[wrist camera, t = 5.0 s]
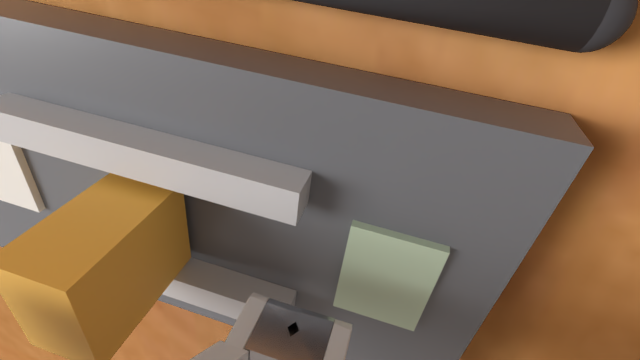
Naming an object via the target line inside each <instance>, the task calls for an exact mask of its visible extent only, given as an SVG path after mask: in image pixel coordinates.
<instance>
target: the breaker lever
mask: <svg viewBox="0 0 640 360" xmlns="http://www.w3.org/2000/svg"><path fill="white" fill-rule="evenodd" d="M190 258H191V251H190V243H189V234H188V226H187V218H186V210H185V201H184V194H182V193H178V192H175V191H171V190H168V189H164V188H161V187H157V186H154V185H151V184H147V183H144V182H140V181H137V180H133V179H130V178H126V177H123V176H119V175H116V174H112V173H109V174H108V175H106V176H105V177H103V178H102V179H100V180H99V181H97V182H96V183H95V184H93V185H92V186H90V187H89V188H87V189H86V190H85V191H83V192H82V193H80V194H79V195H77V196H76V197H75V198H73V199H72V200H70V201H69V202H67V203H66V204H65V205H63V206H62V207H60V208H59V209H57V210H56V211H54V212H53V213H52V214H50V215H49V216H47V217H46V218H44V219H43V220H42V221H40V222H39V223H37V224H36V225H34V226H33V227H32V228H30V229H29V230H27V231H26V232H24V233H23V234H21V235H20V236H19V237H17V238H16V239H14V240H13V241H11V242H10V243H9V244H7V245H6V246H4V247H3V248H1V249H0V294H1V295H2V297H3V299H4V300H5V302H6V304H7V305H8V307H9V309H10V310H11V312H12V314H13V315H14V317H15V319H16V320H17V322H18V324H19V325H20V327H21V329H22V330H23V332H24V333H25V335H26V337H27V338H28V340H29V342H30V343H31V345H33V346H36V347H38V348H41V349H44V350H46V351H49V352H51V353H54V354H57V355H59V356H62V357H64V358H67V359H69V360H110V359H111V358H112V357H113V355H114V354H115V353H116V352H117V350H118V349H119V348H120V347H121V345H122V344H123V343H124V341H125V340H126V339H127V338H128V336H129V335H130V334H131V333H132V331H133V330H134V329H135V328H136V326H137V325H138V324H139V323H140V321H141V320H142V319H143V318H144V316H145V315H146V314H147V313H148V311H149V310H150V309H151V307H152V306H153V305H154V304H155V302H156V301H157V300H158V299H159V297H160V296H161V295H162V294H163V292H164V291H165V290H166V289H167V287H168V286H169V285H170V284H171V282H172V281H173V280H174V279H175V277H176V276H177V275H178V273H179V272H180V271H181V270H182V268H183V267H184V266H185V265H186V263H187V262H188V261H189V260H190Z"/></svg>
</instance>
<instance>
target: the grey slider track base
mask: <svg viewBox="0 0 640 360" xmlns="http://www.w3.org/2000/svg"><path fill="white" fill-rule="evenodd" d="M593 149H594V146H593V145H592V144H591V142H590V141H589V140H588V138H587V137H586V135H585V134H584V133H583V131H582V130H581V129H580V127H579V126H578V125H577V123H576V122H575V120H574V119H573V118H572V116H571V115H570V114H567V113H562V112H557V111H553V110H548V109H543V108H538V107H534V106H529V105H524V104H519V103H515V102H510V101H505V100H500V99H495V98H491V97H486V96H481V95H476V94H472V93H467V92H462V91H457V90H452V89H448V88H443V87H438V86H433V85H429V84H424V83H419V82H414V81H409V80H405V79H400V78H395V77H390V76H386V75H381V74H376V73H371V72H366V71H362V70H357V69H352V68H347V67H343V66H338V65H333V64H328V63H323V62H319V61H314V60H309V59H304V58H300V57H295V56H290V55H285V54H281V53H276V52H271V51H266V50H261V49H257V48H252V47H247V46H242V45H238V44H233V43H228V42H223V41H218V40H214V39H209V38H204V37H199V36H195V35H190V34H185V33H180V32H175V31H171V30H166V29H161V28H156V27H152V26H147V25H142V24H137V23H132V22H128V21H123V20H118V19H113V18H109V17H104V16H99V15H94V14H89V13H85V12H80V11H75V10H70V9H66V8H61V7H56V6H51V5H46V4H42V3H37V2H32V1H27V0H0V246H1V247H4V246H6V245H7V244H9V243H10V242H11V241H13V240H14V239H16V238H17V237H19V236H20V235H21V234H23V233H24V232H26V231H27V230H29V229H30V228H32V227H33V226H34V225H36V224H37V223H39V222H40V221H42V220H43V219H44V218H46V217H47V216H49V215H50V214H52V213H53V212H54V211H56V210H57V209H59V208H60V207H62V206H63V205H65V204H66V203H67V202H69V201H70V200H72V199H73V198H75V197H76V196H77V195H79V194H80V193H82V192H83V191H85V190H86V189H87V188H89V187H90V186H92V185H93V184H95V183H96V182H97V181H99V180H100V179H102V178H103V177H105V176H106V175H108V174H109V173H112V174H116V175H119V176H123V177H126V178H130V179H133V180H137V181H140V182H144V183H147V184H151V185H154V186H157V187H161V188H164V189H168V190H171V191H175V192H178V193H182V194H184V201H185V210H186V218H187V226H188V234H189V243H190V251H191V258H190V260H189V261H188V262H187V263H186V265H185V266H184V267H183V268H182V270H181V271H180V272H179V273H178V275H177V276H176V277H175V279H174V280H173V281H172V282H171V284H170V285H169V286H168V287H167V289H166V290H165V291H164V292H163V294H162V295H161V296H160V297H159V299H158V300H159V301H162V302H165V303H168V304H171V305H174V306H177V307H180V308H182V309H185V310H188V311H191V312H194V313H197V314H200V315H203V316H206V317H209V318H212V319H215V320H218V321H220V322H223V323H226V324H229V325H232V326H234V324H235V322H236V320H237V319H238V317H239V315H240V313H241V311H242V309H243V308H244V306H245V304H246V302H247V300H248V298H249V297H250V296H251V295H252V293H253V292H254V293H257V294H260V295H263V296H266V297H270V298H272V299H275V300H278V301H281V302H284V303H287V304H290V305H293V306H296V307H299V308H303V309H306V310H309V311H313V312H316V313H319V314H323V315H326V316H329V317H332V318H335V319H337V320H340V321H343V322H347V323H350V324H353V325H352V332H351V336H350V341H349V345H348V349H347V353H346V358H345V360H459V359H460V357H461V356H462V354H463V353H464V351H465V350H466V348H467V346H468V345H469V343H470V342H471V340H472V339H473V337H474V335H475V334H476V332H477V331H478V329H479V328H480V326H481V324H482V323H483V321H484V320H485V318H486V317H487V315H488V313H489V312H490V310H491V309H492V307H493V306H494V304H495V302H496V301H497V299H498V298H499V296H500V295H501V293H502V292H503V290H504V288H505V287H506V285H507V284H508V282H509V281H510V279H511V277H512V276H513V274H514V273H515V271H516V270H517V268H518V266H519V265H520V263H521V262H522V260H523V259H524V257H525V255H526V254H527V252H528V251H529V249H530V248H531V246H532V244H533V243H534V241H535V240H536V238H537V237H538V235H539V233H540V232H541V230H542V229H543V227H544V226H545V224H546V222H547V221H548V219H549V218H550V216H551V215H552V213H553V211H554V210H555V208H556V207H557V205H558V204H559V202H560V201H561V199H562V197H563V196H564V194H565V193H566V191H567V190H568V188H569V186H570V185H571V183H572V182H573V180H574V179H575V177H576V175H577V174H578V172H579V171H580V169H581V168H582V166H583V164H584V163H585V161H586V160H587V158H588V157H589V155H590V153H591V152H592V150H593ZM334 322H335V321H334Z"/></svg>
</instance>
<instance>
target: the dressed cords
mask: <svg viewBox="0 0 640 360" xmlns="http://www.w3.org/2000/svg"><path fill="white" fill-rule="evenodd" d="M294 1H299V2H305V3H310V4H315V5H321V6H326V7H332V8H337V9H343V10H348V11H353V12H359V13H364V14H370V15H375V16H381V17H386V18H392V19H397V20H402V21H408V22H413V23H419V24H424V25H430V26H435V27H440V28H446V29H451V30H457V31H462V32H468V33H473V34H479V35H484V36H489V37H495V38H500V39H506V40H511V41H517V42H522V43H527V44H533V45H538V46H544V47H549V48H555V49H560V50H566V51H571V52H580V53H582V52H591V51H595V50H599V49H601V48H604V47H606V46H608V45H610V44H612V43H613V42H614V41H616V40H617V39H619V38H620V37H621V36H622V35H623V34H624V33H625V32H626V31H627V29H628V28H629V27H630V25H631V24H632V22H633V20H634V18H635V15H636V11H637V7H638V0H294Z"/></svg>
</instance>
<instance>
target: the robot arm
mask: <svg viewBox="0 0 640 360" xmlns="http://www.w3.org/2000/svg"><path fill="white" fill-rule="evenodd" d="M334 321H335V322H334ZM352 325H353V324H350V323H347V322H343V321H340V320H337V319H335V318H332V317H329V316H326V315H323V314H319V313H316V312H313V311H309V310H306V309H303V308H299V307H296V306H293V305H290V304H287V303H284V302H281V301H278V300H275V299H272V298H270V297H266V296H263V295H260V294H257V293H254V292H253V293H252V295H251V296H250V297H249V298H248V300H247V302H246V304H245V306H244V308H243V309H242V311H241V313H240V315H239V317H238V319H237V320H236V322H235V324H234V326H233V328H232V330H231V331H230V333H229V335H228V337H227V339H226V341H225V342H223V341H218V342H217V343H215V344H214V345H212V346H210V347H209V348H207V349H206V350H204V351H203V352H201V353H199V354H198V355H196V356H195V357H193V358H192V359H190V360H345V358H346V353H347V349H348V345H349V341H350V336H351V332H352Z"/></svg>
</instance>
